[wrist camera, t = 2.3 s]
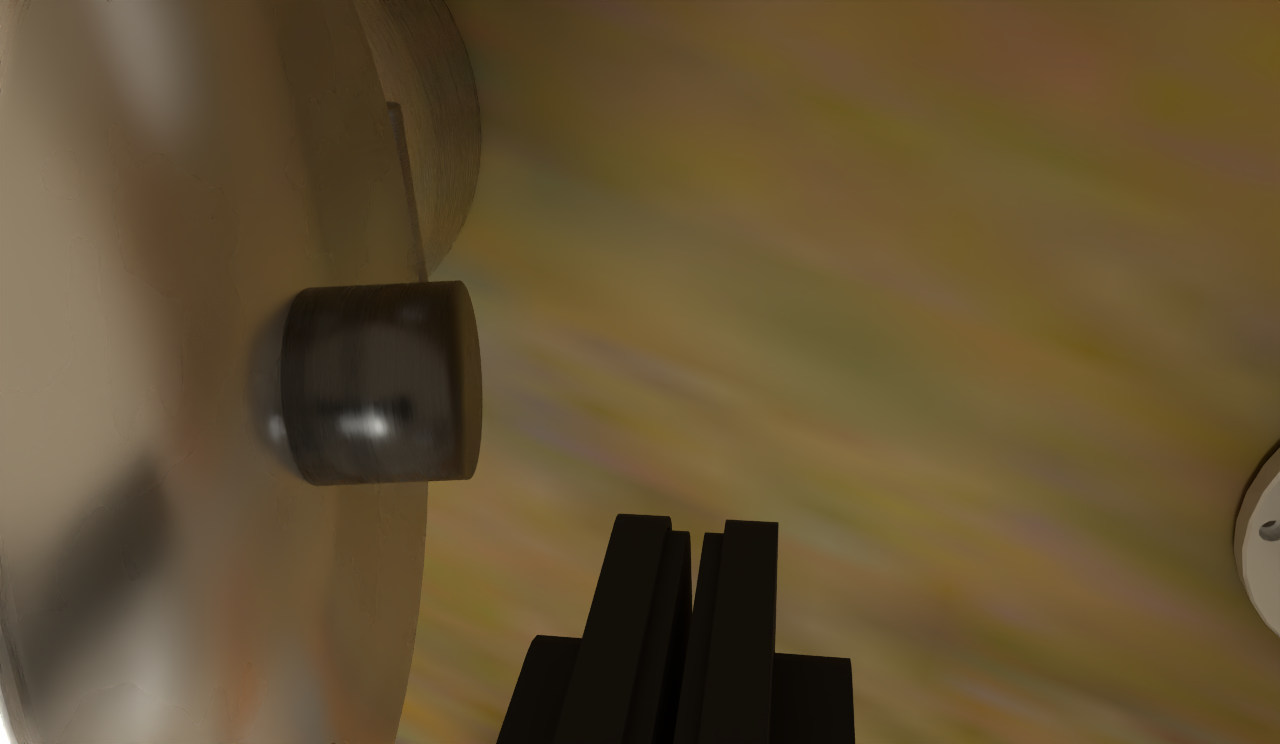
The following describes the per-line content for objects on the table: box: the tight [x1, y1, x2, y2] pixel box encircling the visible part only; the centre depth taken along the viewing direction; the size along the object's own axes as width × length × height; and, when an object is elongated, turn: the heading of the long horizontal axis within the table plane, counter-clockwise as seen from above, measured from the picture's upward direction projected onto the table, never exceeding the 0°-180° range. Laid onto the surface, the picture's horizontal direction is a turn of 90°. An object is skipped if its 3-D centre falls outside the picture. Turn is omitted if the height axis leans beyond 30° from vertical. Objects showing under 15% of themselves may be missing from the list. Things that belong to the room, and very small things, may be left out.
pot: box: [353, 0, 481, 277], centre depth 27 cm, size 16×24×10 cm
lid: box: [0, 0, 482, 744], centre depth 17 cm, size 17×16×4 cm
